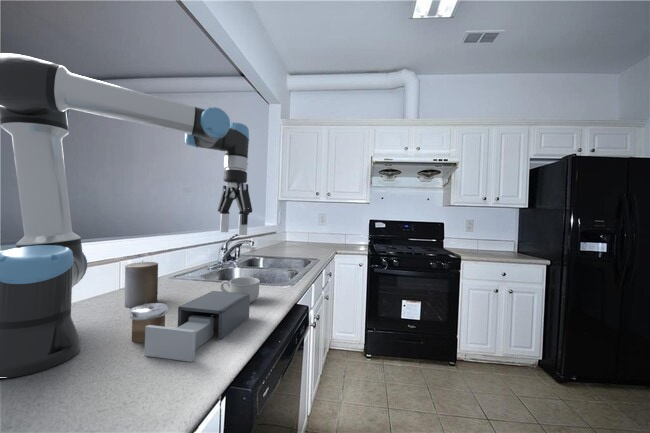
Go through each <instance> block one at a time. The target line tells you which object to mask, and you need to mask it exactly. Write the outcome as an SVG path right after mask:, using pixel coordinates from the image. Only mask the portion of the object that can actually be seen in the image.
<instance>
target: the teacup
mask: <svg viewBox="0 0 650 433" xmlns="http://www.w3.org/2000/svg"><path fill="white" fill-rule="evenodd" d="M260 282H261V281H260V278H257V277H252V276H251V277H250V276H242V277H234V278H232V279H230V280H223V281H222V282H221V283H220V291H221V292H233V293H245V294H250V304H251V303H253V302H254V301H255V300H257V299H258V297H259V294H260ZM225 284H226V285H227V286H228V288H229V290H227V289H225V288H224V285H225Z"/></svg>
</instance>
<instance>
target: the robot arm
mask: <svg viewBox="0 0 650 433" xmlns="http://www.w3.org/2000/svg"><path fill="white" fill-rule="evenodd" d="M71 110H74V111H79V112H83V113H89V114H93V115H97V116H102V117H106V118H111V119H117V120H121V121H126V122H130V123H135V124H138V125H139V124H140V125H144V126H149V127H153V128H157V129H162V130H167V131H172V132H177V133H181V134H184V143H185V144H186V145H187V146H190V147H195V148H201V149H208V150H212V151H213V150H215V151H220V152H224V156H223V157H224V158H223V169H224V170H223V182H225V183H227V185H222V192H221V196H220V200H219V204H218V208H217V212H219V214H220V221H219V222H220V224H219V232H220V233H229V227H230V226H229V225H230V221H229V220H230V214H231V213H230V209H231V207H232V204H233V202H234V200H235V202H236V204H237V208H238V209H239V212H238V224H237V226H238V227H237V235H238V236H247V235H248V222H249V221H248V219H249V215H250V213H253V208H252V202H251V198H250V192H249V184H248V183H247V182H248V172H247V170H248V165H249V163H248V160H249V157H248V155H249V144H250V143H249V142H250V131H249V128H248V126H247V125H246V124H244V123H241V122H233V121H231V120H230V117H229V115H228V114H227V112H225V110H223V109H221V108H219V107H215V106H214V107H208V108H206V109H204V108H201V107H197V106H194V105H189V104H185V103H181V102H177V101H175V100H171V99H167V98H163V97H160V96H156V95H153V94H149V93H145V92H142V91H137V90H135V89H130V88H128V87H127V88H126V87H124V86H119V85H115V84H113V83H108V82H105V81H103V80H102V81H101V80H98V79H94V78H90V77H87V76H82V75H79V74H76V73H72V72H70V70H68V69H67V68H66V67H65V66H64V65H61V64H57V63H54V62H50V61H47V60H43V59H39V58H35V57H32V56H28V55H22V54H18V53H8V52H6V53H5V52H2V53H0V127H1V129H2V130H4V131H5V132H7V133H8V134H9V135H11V139H12V140H11V141H12V149H13V150H12V151H13V155H14V156H13V157H14V165H15V172H16V180H17V187H18V195H19V204H20V211H21V221H22V226H23V227H22V228H23V229H22V230H23V237H22V238H21V239H19V240H18V242H16V243H15V248H10V249H7V250H3V251H1V252H0V377H9V378H8V379H12V378H18V377H22V376H26V375H32V374H34V373H35V374H36V373H39V372H43V371H45V370H47V369H50V368H53V367H56V366H58V365H60V364H62V363H65V362H66V361H68V360H70V359H72V358H73V357H75V356H76V355H77V354H78V353H79V352H80V350H81V337H80V334H79V332H78V330H77V328H76V325H75V323H74V321H73V318H72V299H73V298H72V295H73V294H72V293H73V288H74V286H76V285H77V284H79V282H81V280H82V279H83V278H84V276H85V274H86V273H87V270H88V260H87V256H86V255H85V254H84V252H83V246H82V237H81V236H80V235H79V234H76V233H75V232H74V231H73V228H72V227H73V226H72V225H73V224H72V219H71V210H70V208H71V207H70V201H69V191H68V190H69V189H68V184H67V175H66V167H65V156H64V148H63V138H65V137H66V136H67V135H69V131H70V130H69V123H68V120H69V117H70V112H71ZM11 377H12V378H11Z"/></svg>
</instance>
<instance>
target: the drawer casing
mask: <svg viewBox="0 0 650 433" xmlns="http://www.w3.org/2000/svg"><path fill="white" fill-rule="evenodd" d="M250 304H251V303H250V294H245V293H233V292H230V291H228V292H223V291H222V290H220V291H219V290H212V291H210V292H207V293H205V294H203V295H201V296H199V297H197V298H194V299H192V300H190V301H188V302H186V303H183V304H181V305H178V308H177V309H178V310H177V327H179V326H181V325H183V324H185V323H186V322H188V320H189V317H190V316H192V315H196V316H205V317H213V316H214V317H218V335H217V336H218V338H217V340H218V341H223V340H224V339H225V338H227V337H228V336H229V335H230V334H231V333H233V332H234V331H235V330H236V329H238V328H239V327H240V326H241V325H243V324H245V323H246V321H247V320H249V319H250Z"/></svg>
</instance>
